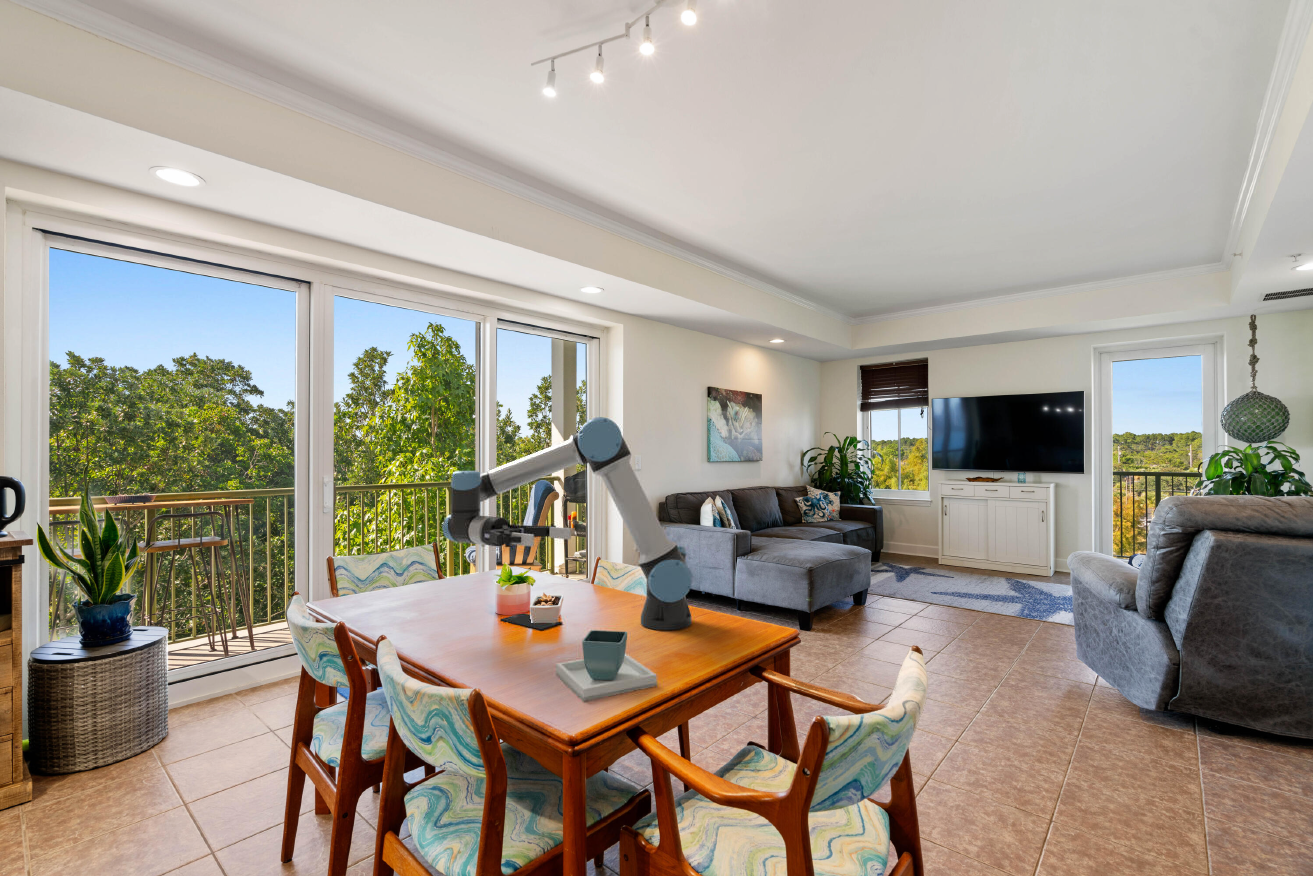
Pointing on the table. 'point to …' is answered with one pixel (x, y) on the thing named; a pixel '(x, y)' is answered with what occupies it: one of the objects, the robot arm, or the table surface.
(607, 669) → the flower pot
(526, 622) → the cell phone
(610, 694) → the tray
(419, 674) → the table surface
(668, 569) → the robot arm
